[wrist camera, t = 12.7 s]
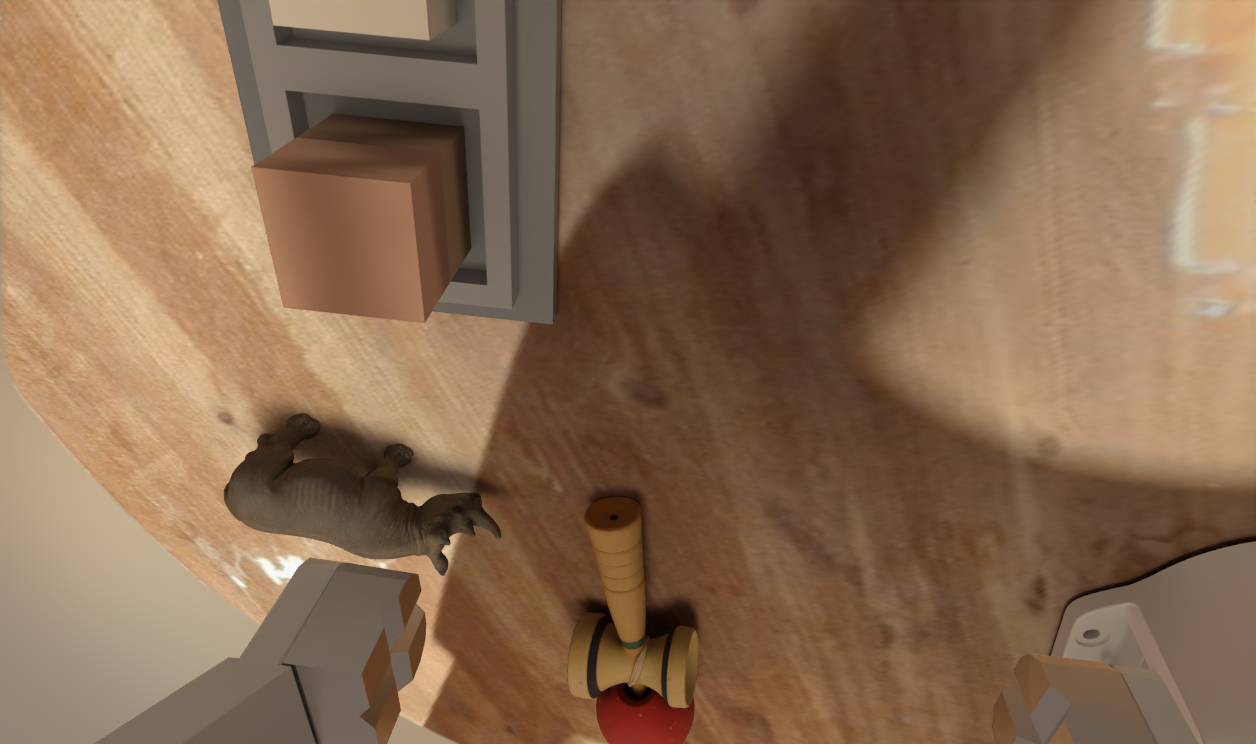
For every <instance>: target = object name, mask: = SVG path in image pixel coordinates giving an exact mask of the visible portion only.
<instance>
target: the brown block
mask: <svg viewBox="0 0 1256 744" xmlns="http://www.w3.org/2000/svg"><path fill="white" fill-rule="evenodd" d="M251 168H252V172H253V177H254V181H255V185H256V190H257V194H258V198H259V203H260V207H261V211H262V216H263V220H264V224H265V229H266V233H267V238H268V242H269V246H270V251H271V255H272V259H273V264H274V268H275V272H276V277H277V281H278V286H279V290H280V294H281V299H282V303H283V307H284V308H293V309H303V310H312V311H321V312H330V313H339V314H348V315H357V316H366V317H375V318H384V319H394V320H403V321H412V322H421V323H425V322H426V320H427V318H428V317H429V315H430V314H431V312H432V311H433V309H434V307H435V306H436V304H437V303H438V301H439V299H440V298H441V296H442V295H443V293H444V291H445V290H446V288H447V287H448V285H449V283H450V282H451V280H452V279H453V277H454V275H455V274H456V272H457V271H458V269H459V267H460V266H461V264H462V263H463V261H464V260H465V258H466V256H467V255H468V253H469V252H470V250H471V235H470V218H469V201H468V183H467V166H466V148H465V131H464V126H454V125H444V124H434V123H424V122H414V121H404V120H394V119H384V118H374V117H364V116H354V115H344V114H334V113H333V114H332V115H330V116H329V117H327V118H326V119H324V120H323V121H321V122H319V123H318V124H316V125H315V126H313V127H312V128H310V129H309V130H307V131H306V132H304V133H303V134H301V135H300V136H298V137H297V138H295V139H293V140H292V141H290V142H289V143H287V144H286V145H284V146H283V147H281V148H280V149H278V150H277V151H275V152H274V153H272V154H270V155H269V156H267V157H266V158H264V159H263V160H261V161H260V162H258V163H257V164H255V165H254V166H252V167H251Z"/></svg>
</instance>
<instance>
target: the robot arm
mask: <svg viewBox="0 0 1256 744" xmlns="http://www.w3.org/2000/svg"><path fill="white" fill-rule="evenodd" d="M420 593H421V586H420V581H419V576H418V574H413V573H407V572H401V571H394V570H388V569H382V568H376V567H370V566H363V565H357V564H351V563H345V562H338V561H330V560H323V559H316V558H309V559H308V560H306V561H305V562H304V563H303V564H301V565H300V566H299V567H298V569H297V570H296V572H295V573H294V575H293V576H292V578H291V579H290V581H289V582H288V584H287V586H286V587H285V589H284V590H283V592H282V593H281V595H280V596H279V598H278V599H277V601H276V603H275V604H274V606H273V607H272V609H271V610H270V612H269V613H268V615H267V616H266V618H265V620H264V621H263V623H262V624H261V626H260V627H259V629H258V630H257V632H256V634H255V635H254V637H253V638H252V640H251V641H250V643H249V644H248V646H247V647H246V649H245V651H244V652H243V654H242V655H241V657H240V658H239V659H238V658H227V659H225V660H224V661H222V662H221V663H219V664H218V665H216V666H214V667H213V668H211V669H210V670H208V671H207V672H205V673H204V674H202V675H200V676H199V677H197V678H196V679H194V680H192V681H191V682H189V683H188V684H186V685H185V686H183V687H182V688H180V689H179V690H177V691H176V692H174V693H172V694H171V695H169V696H168V697H166V698H165V699H163V700H162V701H160V702H158V703H157V704H155V705H153V706H152V707H150V708H149V709H147V710H146V711H144V712H143V713H141V714H140V715H138V716H136V717H135V718H133V719H132V720H130V721H129V722H127V723H125V724H124V725H122V726H121V727H119V728H118V729H116V730H114V731H113V732H111V733H110V734H108V735H107V736H105V737H104V738H102V739H100V740H99V741H98V742H96V743H94V744H387V743H388V740H389V738H390V735H391V733H392V730H393V728H394V725H395V723H396V721H397V718H398V716H399V713H400V711H401V709H400V703H399V698H398V691H399V690H401V689H402V688H403V687H405V686H406V685H407V684H408V683H410V682H411V681H412V680H413V679H414V676H415V673H416V671H417V668H418V666H419V663H420V660H421V656H422V652H423V647H424V643H425V636H426V619H425V612H424V611H423V610H422V609H421V608H420V607H419V606H418V605H417V604H416V602H417V600H418V597H419V595H420ZM1014 673H1015V676H1016V678H1017V681H1018V683H1016V684H1014V685H1012V686H1010V687H1007V688H1005V689H1003V690H1002V691H1001V693H1000V695H999V697H998V699H997V701H996V703H995V705H994V712H993V723H992V729H993V736H994V744H1256V541H1255V542H1249V543H1243V544H1238V545H1233V546H1229V547H1225V548H1221V549H1217V550H1214V551H1210V552H1207V553H1204V554H1201V555H1198V556H1195V557H1192V558H1189V559H1187V560H1184V561H1182V562H1179V563H1177V564H1175V565H1173V566H1170V567H1168V568H1166V569H1164V570H1162V571H1160V572H1158V573H1156V574H1154V575H1152V576H1150V577H1148V578H1146V579H1143V580H1141V581H1139V582H1136V583H1134V584H1131V585H1128V586H1123V587H1118V588H1114V589H1109V590H1105V591H1101V592H1097V593H1093V594H1089V595H1086V596H1083V597H1081V598H1078V599H1076V600H1075V601H1073V602H1072V603H1070V604H1069V606H1068V607H1067V608H1066V610H1065V613H1064V616H1063V619H1062V622H1061V626H1060V629H1059V632H1058V635H1057V638H1056V641H1055V644H1054V647H1053V650H1052V653H1051V656H1045V655H1037V654H1027V655H1025V656H1023V657H1021V658H1020V660H1019V661H1018V663H1017V665H1016V666H1015V668H1014Z"/></svg>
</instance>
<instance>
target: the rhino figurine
mask: <svg viewBox="0 0 1256 744" xmlns="http://www.w3.org/2000/svg"><path fill="white" fill-rule="evenodd" d="M319 430H320V423H319V422H318V421H316V420H315V419H312V418H310V417H309V416H308V415H307V414H300V415H297V416H293V417H291V418H290V419H289V420H288V421H287V424H286V430H285V431H283V432H280V433H278V434H276V435H274V436H273V435H262V436H260V437H259V438H258V440H257V443H258V447H257V449H256V450H255V451H252V452H249V453H248V454H247V455H246V457H245V460H244V461H243V462H242V463H241V464H240V465H239V466H238V467H237V468H236V469H235V470H234V472H233V473H232V476H231V478H230V481H229V483H228V484H227V485H226V487H225V489H224V501H225V504H226V506H227V508H228V509H229V511H230V512H231V513H232V515H233V516H234V517H235V518H236V519H237V520H239V521H242V522H243V523H244V524H245V525H247V526H248V527H251V528H253V529H255V530H259V531H263V532H268V533H275V534H284V535H292V536H299V537H306V538H311V539H316V540H320V541H323V542H327V543H330V544H333V545H335V546H338V547H340V548H343V549H344V550H346V551H348V552H350V553H353V554H355V555H358V556H360V557H363V558H369V559H394V558H400V557H406V556H412V555H417V556H420V555H427V556H428V557H429V558H430V559H431V560H432V563H433V565H434V567H435V568H436V570H437V571H438V572H439V574H440V575H441V576H444V575H445V573H446V571H447V569H448V560H447V558H446V556H445V555H444V554H443V553H442V552H441V550H442V549H443V547H444V546H445V545H450V540H449V537H450V536H451V535H453V534H456V533H464V534H467V535H469V536H471V537H475V532H474V528H473V526H479V527H482V528H484V529H486V530H489V531H490V532H492V533H493V534H494V535H495V537H496V538H497V539H500V538H501V532H500V529H499V527H498V525H497V524H496V522H495V521H494V520H493V519H492V518H491V517H490V516H489V515H488V514H487V513H486V512H485V511H484V509H483V507H482V501H481V496H480V494H479V493H477V492H473V493H457V494H440V495H436V496H434V497H432V498H430V499H428V500H427V501H426V502H425V503H424V504H423V505H422V506H419V507H418V506H416V505H415V504H414V503H408V502H406V501H405V500H403V499H402V498H401V492H400V490H399V489H398V488H397V486H398V477H397V473H398V469H399V468H400V467H404V466H406V465H408V464H409V463H410V462H411V458H412V456H413V455H414V453H413V451H412V450H411V449H410V448H408V447H407V446H405V445H404V444H396V445H391V446H389V447H387V448H386V450H385V452H384V460H383V461H381V462H380V463H379V464H378V466H377V467H376V469H375V470H374V471H371V472H369V473H368V474H366V476H365V477H364V476H361V475H360V474H359V473H357V472H356V471H354V470H353V469H351V468H349V467H348V466H346V465H344V464H342V463H340V462H337V461H334V460H328V459H306V460H303V461H301V462H299V463H293V460H294V454H293V449H294V448H295V447H296V446H297V445H298V444H299V443H300V442H301V441H303V440H305V439H310V438H312V437H314V436H316V434H317V432H318V431H319Z"/></svg>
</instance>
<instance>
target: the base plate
mask: <svg viewBox="0 0 1256 744" xmlns="http://www.w3.org/2000/svg"><path fill="white" fill-rule="evenodd" d="M218 4H219V9H220V13H221V18H222V22H223V26H224V31H225V35H226V40H227V44H228V49H229V53H230V57H231V62H232V66H233V71H234V75H235V80H236V84H237V88H238V93H239V97H240V102H241V106H242V111H243V115H244V119H245V124H246V128H247V133H248V137H249V142H250V146H251V150H252V155H253V159H254V164H257V163H258V162H260V161H261V160H263V159H264V158H266V157H267V156H269V155H270V154H272V153H274V152H275V151H277V150H278V149H280V148H281V147H283V146H284V145H286V144H287V143H289V142H290V141H292V140H293V139H295V138H297V137H298V136H300V135H301V134H303V133H304V132H306V131H307V130H309V129H310V128H312V127H313V126H315V125H316V124H318V123H319V122H321V121H323V120H324V119H326V118H327V117H329V116H330V115H332V114H333V113H334V114H344V115H354V116H364V117H374V118H384V119H394V120H404V121H414V122H424V123H434V124H444V125H454V126H464V131H465V148H466V166H467V183H468V201H469V218H470V235H471V250H470V252H469V253H468V255H467V256H466V258H465V260H464V261H463V263H462V264H461V266H460V267H459V269H458V271H457V272H456V274H455V275H454V277H453V279H452V280H451V282H450V283H449V285H448V287H447V288H446V290H445V291H444V293H443V295H442V296H441V298H440V299H439V301H438V303H437V304H436V306H435V307H434V309H433V311H435V312H444V313H453V314H462V315H471V316H480V317H489V318H499V319H508V320H517V321H526V322H535V323H544V324H553V322H554V319H555V316H556V313H557V263H558V203H559V144H560V85H561V25H562V0H218Z"/></svg>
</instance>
